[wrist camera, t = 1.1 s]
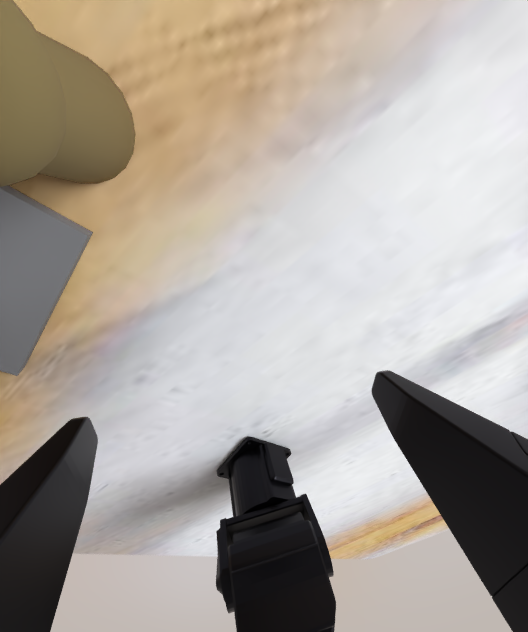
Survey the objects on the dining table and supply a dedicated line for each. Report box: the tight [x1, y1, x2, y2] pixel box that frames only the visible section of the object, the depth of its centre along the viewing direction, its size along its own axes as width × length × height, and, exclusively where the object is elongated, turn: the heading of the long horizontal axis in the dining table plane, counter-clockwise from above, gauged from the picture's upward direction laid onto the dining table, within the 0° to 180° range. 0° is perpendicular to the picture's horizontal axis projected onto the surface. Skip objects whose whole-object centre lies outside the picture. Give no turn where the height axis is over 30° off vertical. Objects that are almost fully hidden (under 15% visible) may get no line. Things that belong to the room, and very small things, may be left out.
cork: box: [0, 0, 135, 187], centre depth 10 cm, size 6×6×11 cm
